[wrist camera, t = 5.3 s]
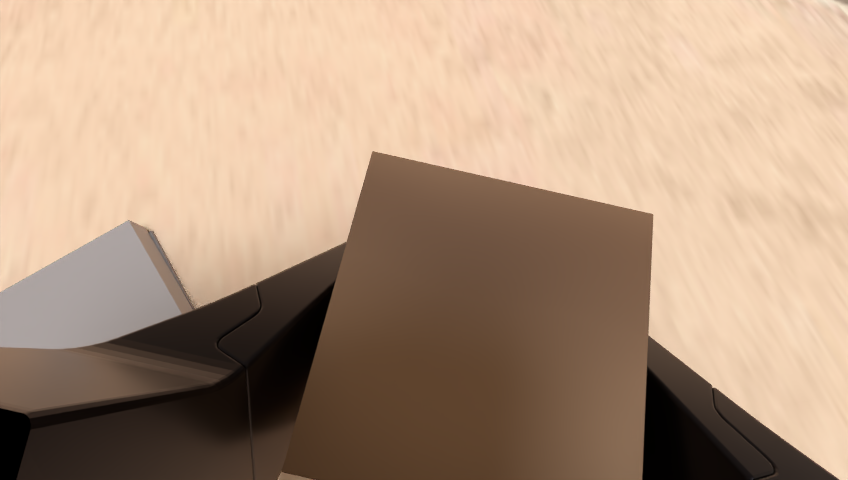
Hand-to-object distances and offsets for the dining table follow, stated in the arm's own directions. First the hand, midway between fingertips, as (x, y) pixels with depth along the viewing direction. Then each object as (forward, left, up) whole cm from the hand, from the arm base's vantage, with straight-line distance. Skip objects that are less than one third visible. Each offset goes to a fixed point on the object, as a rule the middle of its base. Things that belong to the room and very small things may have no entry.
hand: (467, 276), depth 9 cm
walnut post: (-1, -1, -7) cm, 7 cm away
